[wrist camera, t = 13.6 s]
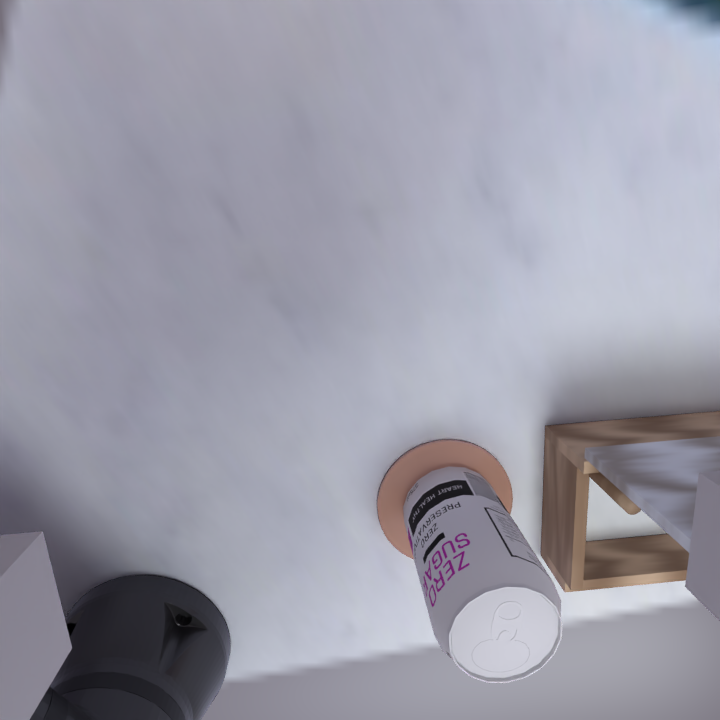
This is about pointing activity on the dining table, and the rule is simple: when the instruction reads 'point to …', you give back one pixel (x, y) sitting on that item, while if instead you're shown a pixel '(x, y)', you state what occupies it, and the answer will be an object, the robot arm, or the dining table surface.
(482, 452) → the saucer
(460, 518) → the supplement can
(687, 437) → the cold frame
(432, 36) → the dining table surface
